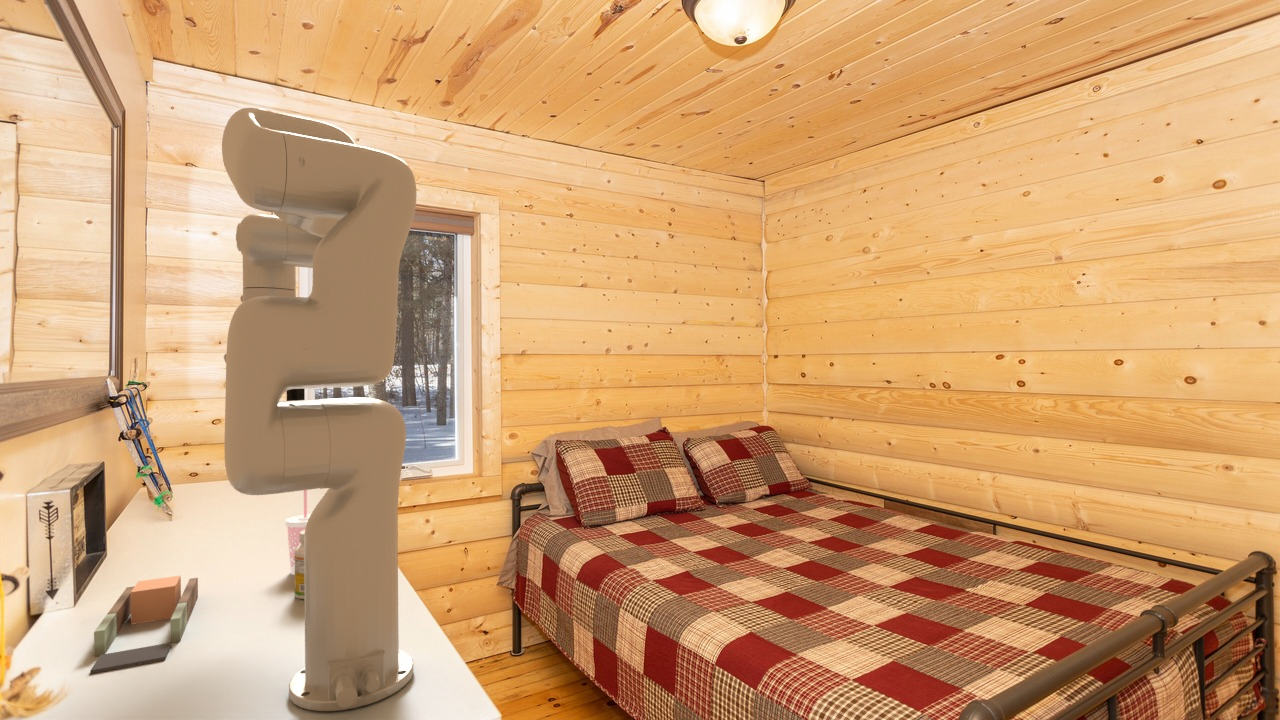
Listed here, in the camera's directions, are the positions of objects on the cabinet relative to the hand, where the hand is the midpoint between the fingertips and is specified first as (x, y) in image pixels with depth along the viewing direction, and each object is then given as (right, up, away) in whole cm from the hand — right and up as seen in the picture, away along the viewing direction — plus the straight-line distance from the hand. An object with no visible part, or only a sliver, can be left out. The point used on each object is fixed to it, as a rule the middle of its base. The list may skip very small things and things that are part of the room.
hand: (270, 406), depth 106 cm
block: (-8, -29, -14) cm, 33 cm away
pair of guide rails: (-7, -29, -17) cm, 34 cm away
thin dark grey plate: (-1, -29, -28) cm, 40 cm away
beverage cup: (+3, -29, +5) cm, 29 cm away
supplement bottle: (+10, -29, -6) cm, 31 cm away
